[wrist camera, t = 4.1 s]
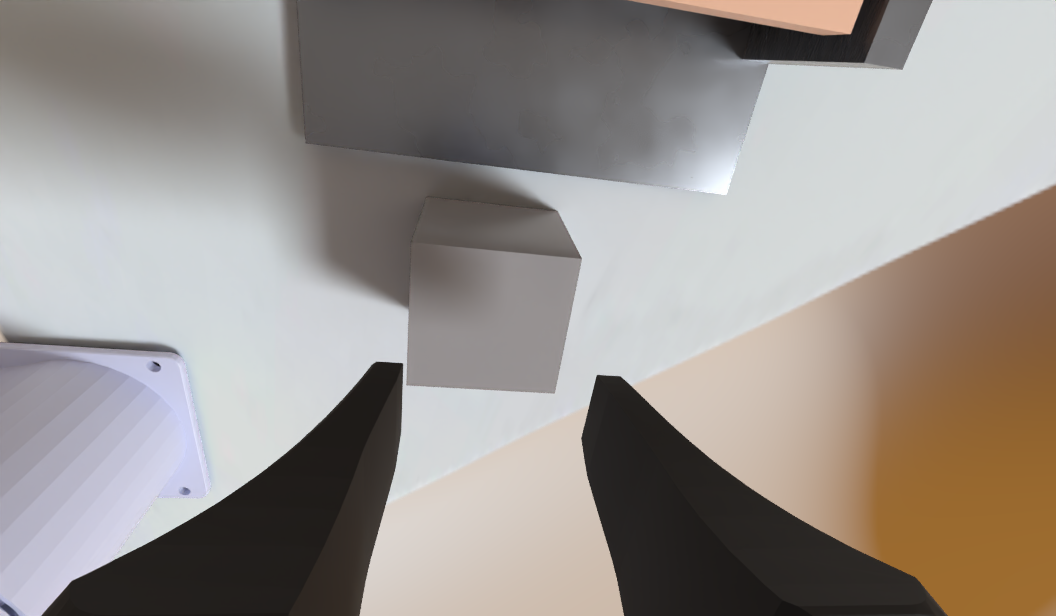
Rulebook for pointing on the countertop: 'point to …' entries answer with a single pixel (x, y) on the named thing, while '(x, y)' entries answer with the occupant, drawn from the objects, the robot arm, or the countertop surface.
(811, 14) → the trapdoor
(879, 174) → the countertop surface
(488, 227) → the grey cube
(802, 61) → the trapdoor frame
